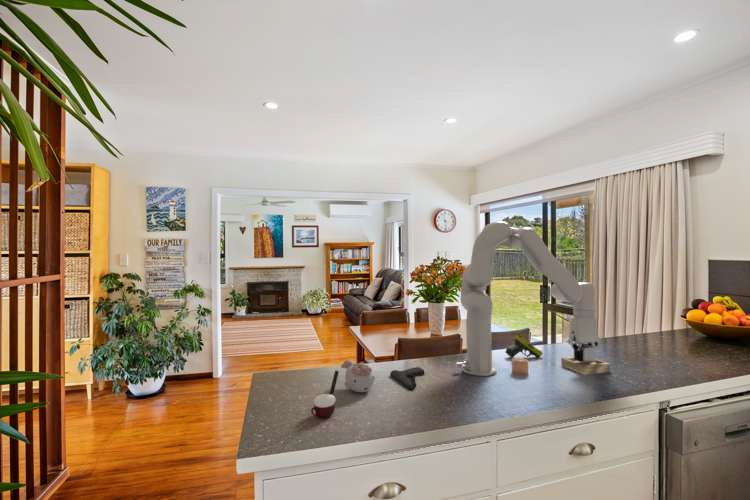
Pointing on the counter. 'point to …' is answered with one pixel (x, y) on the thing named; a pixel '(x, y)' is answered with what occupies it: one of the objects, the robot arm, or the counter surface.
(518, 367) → the tan square block
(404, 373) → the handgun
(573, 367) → the wooden tray
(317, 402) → the cocoa
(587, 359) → the housing
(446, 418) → the counter surface
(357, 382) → the toy
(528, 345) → the toy gun
